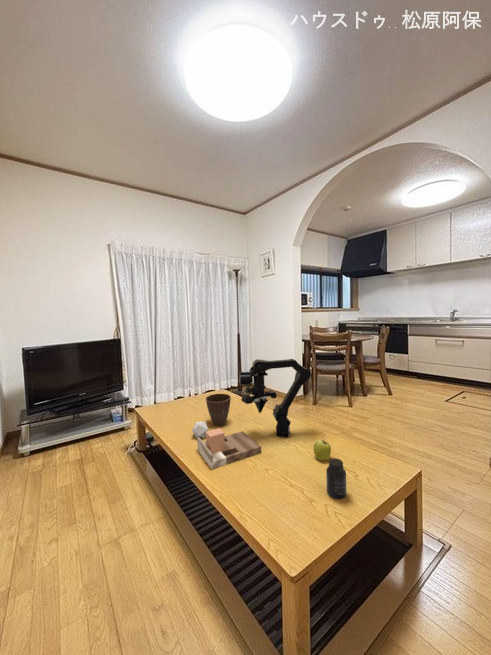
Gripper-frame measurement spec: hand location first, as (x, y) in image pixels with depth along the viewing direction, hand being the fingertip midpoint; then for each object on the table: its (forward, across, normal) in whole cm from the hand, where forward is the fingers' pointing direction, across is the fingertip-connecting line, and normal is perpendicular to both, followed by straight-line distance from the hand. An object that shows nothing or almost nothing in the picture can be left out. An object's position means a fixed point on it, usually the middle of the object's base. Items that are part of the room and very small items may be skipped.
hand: (259, 412), depth 140 cm
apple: (+13, -13, +32) cm, 37 cm away
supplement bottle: (+13, 0, +52) cm, 54 cm away
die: (+13, +28, -17) cm, 35 cm away
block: (+10, +28, +4) cm, 30 cm away
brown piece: (+13, +20, +4) cm, 25 cm away
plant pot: (+13, +12, -27) cm, 33 cm away
